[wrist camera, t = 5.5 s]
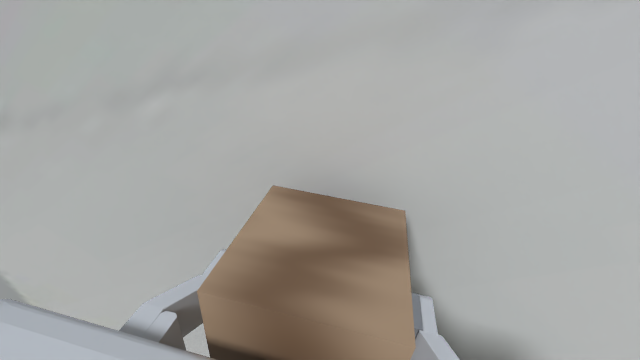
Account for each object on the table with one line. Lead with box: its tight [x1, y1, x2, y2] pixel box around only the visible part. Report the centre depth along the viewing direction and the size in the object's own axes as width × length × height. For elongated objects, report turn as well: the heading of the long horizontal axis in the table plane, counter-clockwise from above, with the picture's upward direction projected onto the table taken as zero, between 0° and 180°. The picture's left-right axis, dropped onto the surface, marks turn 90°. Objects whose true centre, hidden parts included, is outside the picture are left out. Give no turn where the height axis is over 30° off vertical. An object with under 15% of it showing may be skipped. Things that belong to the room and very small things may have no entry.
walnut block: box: [197, 186, 416, 360], centre depth 12 cm, size 6×6×6 cm
